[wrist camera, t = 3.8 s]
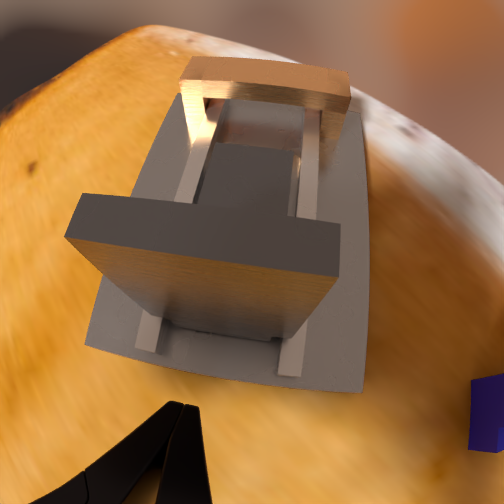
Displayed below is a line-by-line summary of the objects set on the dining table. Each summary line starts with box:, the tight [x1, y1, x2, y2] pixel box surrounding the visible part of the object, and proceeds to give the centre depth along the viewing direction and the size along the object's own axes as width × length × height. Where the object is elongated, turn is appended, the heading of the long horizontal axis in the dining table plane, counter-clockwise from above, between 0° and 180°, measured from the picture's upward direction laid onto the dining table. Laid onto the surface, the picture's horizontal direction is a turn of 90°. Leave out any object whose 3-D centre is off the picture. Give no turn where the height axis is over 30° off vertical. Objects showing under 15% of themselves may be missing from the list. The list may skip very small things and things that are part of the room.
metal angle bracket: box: [64, 142, 341, 342], centre depth 12 cm, size 10×6×9 cm, turn 171°
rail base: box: [85, 57, 370, 393], centre depth 16 cm, size 19×14×5 cm
